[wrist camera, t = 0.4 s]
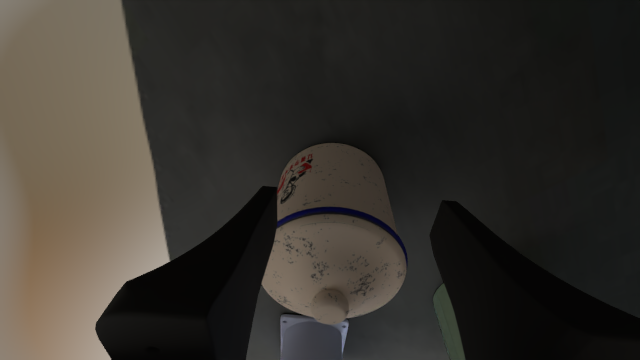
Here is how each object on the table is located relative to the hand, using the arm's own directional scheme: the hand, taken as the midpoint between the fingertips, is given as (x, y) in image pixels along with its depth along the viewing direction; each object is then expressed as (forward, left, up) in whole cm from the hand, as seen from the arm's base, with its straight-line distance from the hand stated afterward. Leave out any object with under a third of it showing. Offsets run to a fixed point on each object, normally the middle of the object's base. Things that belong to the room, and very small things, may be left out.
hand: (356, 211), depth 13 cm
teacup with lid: (-7, +1, -11) cm, 13 cm away
